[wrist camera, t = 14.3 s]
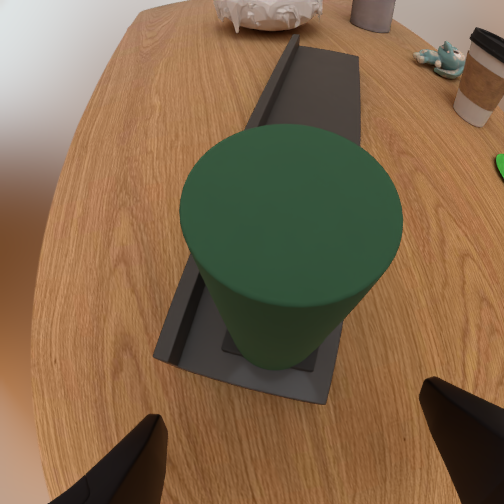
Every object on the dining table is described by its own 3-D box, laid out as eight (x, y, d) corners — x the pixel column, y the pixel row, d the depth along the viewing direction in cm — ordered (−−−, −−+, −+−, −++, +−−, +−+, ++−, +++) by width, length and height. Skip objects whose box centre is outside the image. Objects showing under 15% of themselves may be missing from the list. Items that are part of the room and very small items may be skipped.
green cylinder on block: (310, 379, 16) (404, 331, 5) (220, 357, 17) (137, 269, 6) (338, 225, 21) (386, 67, 10) (265, 209, 22) (262, 45, 11)
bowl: (230, 15, 52) (227, -21, 43) (320, 20, 50) (322, -17, 41) (203, 45, 43) (197, -3, 34) (321, 50, 40) (325, -1, 32)
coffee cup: (498, 137, 31) (535, 64, 17) (462, 128, 31) (498, 42, 18) (473, 104, 35) (501, 35, 21) (437, 94, 35) (462, 17, 22)
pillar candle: (348, 17, 53) (354, -33, 39) (386, 25, 51) (394, -23, 38) (351, 27, 48) (357, -30, 35) (393, 37, 47) (403, -18, 34)
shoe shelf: (318, 404, 17) (333, 405, 13) (174, 366, 19) (151, 357, 15) (356, 69, 37) (360, 45, 33) (292, 58, 38) (293, 33, 35)
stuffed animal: (403, 28, 38) (451, 32, 36) (402, 58, 44) (447, 59, 42) (432, 51, 33) (482, 57, 31) (427, 85, 39) (475, 86, 37)
